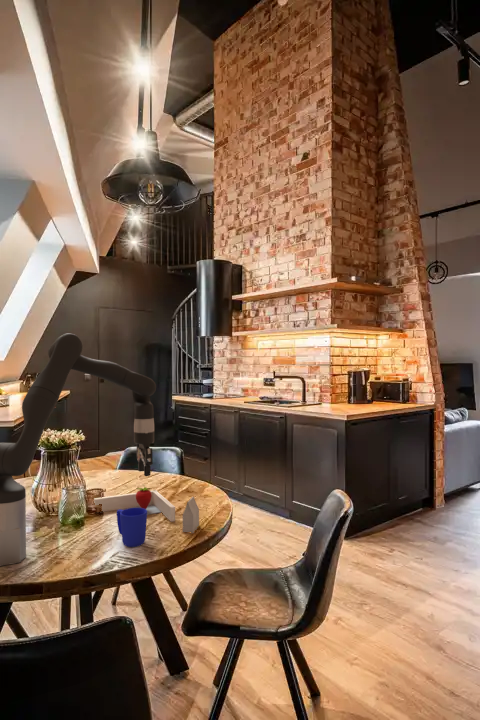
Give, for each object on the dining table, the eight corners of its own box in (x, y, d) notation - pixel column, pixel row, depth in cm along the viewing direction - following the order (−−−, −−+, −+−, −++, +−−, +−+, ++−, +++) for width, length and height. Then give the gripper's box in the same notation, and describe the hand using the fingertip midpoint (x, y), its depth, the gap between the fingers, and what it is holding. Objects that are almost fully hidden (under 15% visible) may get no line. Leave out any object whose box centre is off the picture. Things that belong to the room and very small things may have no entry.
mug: (128, 534, 153) (128, 503, 153) (152, 543, 145) (152, 510, 145) (107, 541, 147) (107, 509, 147) (131, 551, 139) (131, 518, 139)
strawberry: (133, 513, 172) (133, 486, 172) (138, 507, 180) (137, 481, 180) (149, 513, 173) (149, 486, 173) (153, 507, 180) (153, 481, 180)
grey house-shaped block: (199, 526, 160) (198, 496, 160) (193, 533, 154) (193, 502, 154) (188, 525, 161) (188, 496, 161) (182, 532, 154) (182, 502, 154)
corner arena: (175, 520, 165) (175, 506, 165) (106, 532, 155) (106, 517, 155) (156, 502, 187) (156, 489, 187) (94, 511, 176) (93, 498, 176)
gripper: (129, 428, 181) (129, 470, 181) (139, 433, 168) (139, 478, 168) (148, 427, 184) (148, 468, 184) (159, 432, 172) (159, 476, 172)
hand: (144, 473), depth 176 cm, fingers open, 8 cm apart
